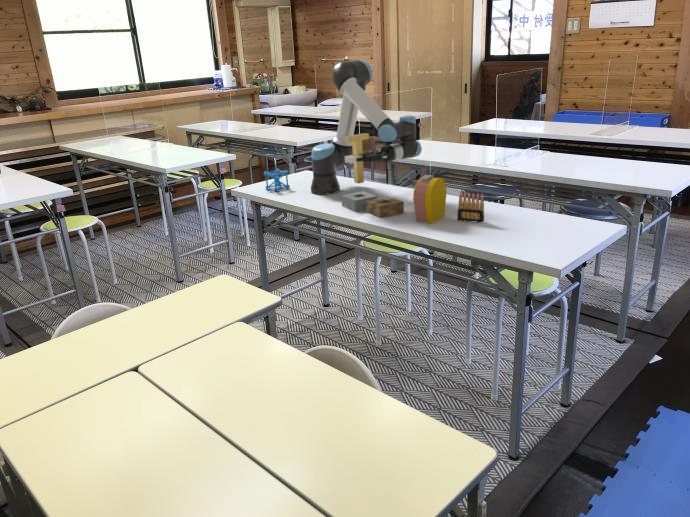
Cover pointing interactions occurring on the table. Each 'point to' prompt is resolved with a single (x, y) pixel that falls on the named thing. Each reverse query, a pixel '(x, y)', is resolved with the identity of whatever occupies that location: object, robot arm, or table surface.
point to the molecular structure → (276, 179)
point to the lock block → (384, 207)
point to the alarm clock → (429, 199)
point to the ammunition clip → (471, 208)
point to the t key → (357, 154)
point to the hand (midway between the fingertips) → (347, 160)
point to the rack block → (357, 200)
